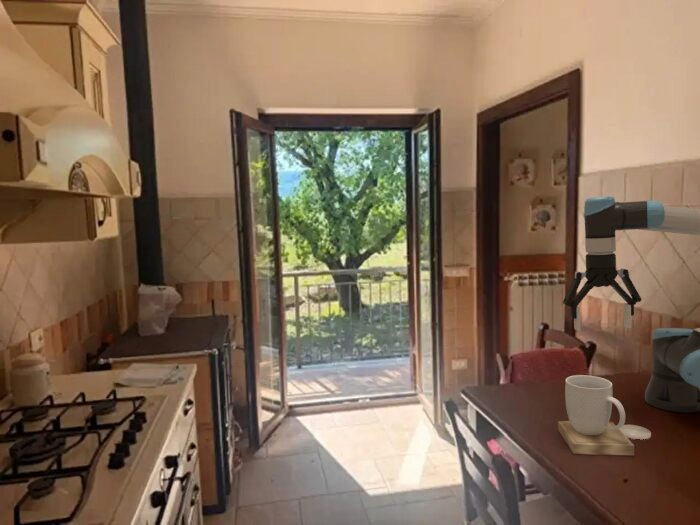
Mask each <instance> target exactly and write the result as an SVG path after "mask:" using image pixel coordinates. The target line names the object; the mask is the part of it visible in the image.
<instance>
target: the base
mask: <svg viewBox="0 0 700 525" xmlns="http://www.w3.org/2000/svg"><path fill="white" fill-rule="evenodd" d="M608 426H617V425H616V424H615V423H614V422H613V421H609V423H608ZM557 429H558V430H557V431H558V432H559V433H560V435H561V437H562V438H563V440H564V441H565V443H566V445H567V446H568V448H569V450H570V451H571V453H572V454H573V455H597V456H598V455H599V456H604V455H605V456H607V455H608V456H635V445H634V443H633V442H632V441H631V439H630V438H627V437H626V436H625V435H624V434H623V433H622V432H621V431H620V430H619V429H618V430H604V432H603V433H602V434H600V435H595V436H591V435H584V434H581V433H579V432H577V431H576V430H575V429H574V428H573V426H572V425H571V423H570V420H568V421H567V420H566V421H565V420H564V421H563V420H559V421H558V422H557Z"/></svg>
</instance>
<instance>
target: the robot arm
mask: <svg viewBox="0 0 700 525" xmlns="http://www.w3.org/2000/svg"><path fill="white" fill-rule="evenodd" d="M583 212H584V213H583V216H584V217H583V218H584V234H585V236H584V238H585V239H584V240H585V242H584V243H585V253H587V254H585V272H581V271H574V272H573V279H572V282H571V284H570V286H569V288H568V290H567V292H566V294H565V297H564V299H562V300H563V301H562V304H563V305H565V306H567V307H569V309H570V310H569V314H570V315H569V316H570V318H571V319H573V328H574V330H575V331H577V332H581V307H579V304H580V303H581V302H582V301H583V299H585V297H586V296H587V295H588V293H589V292H590V291H591V290H593V288H594V287H596V288H602V287H605V288H606V287H607V288H608V287H609V286H610V287H611V288H612V289H613V290H614V291H615V292H616V293H617V294H618V295H619V296H620V298H622V299H623V300H624V303H623V326H624V328H627V329H632V317H633V316H635V305H636V304H637V303H638V302H639V303H640V302H641V301H642V297H641V295H640V293H639V292H638V290H637V288H636V286H635V285H634V283H633V281H632V280H631V277H630V272H629V270H628V269H627V268H621V269H617V254H615V253H614V252H616V250H617V249H616V247H617V246H616V231H628V230H629V231H630V230H641V231H651V232H660V233H661V232H662V233H668V234H669V233H671V234H682V235H689V236H691V235H693V236H700V209H699V208H691V207H690V208H688V207H677V206H676V207H675V206H667V205H666V206H665V205H664V204H663V203H662V202H661V201H659V200H642V201H641V200H640V201H638V200H637V201H626V202H624V201H623V202H621V201H616V200H615V197H614V196H613V195H611V196H610V195H609V196H596V197H588V198H586V199H585V201H584V210H583ZM617 277H619V278H621V280H622V283H623V284H624V286H625V288H626V289H627V291H628V292H626V290H624V289H623V287H622V286H621V285H620V284H619V283H618V282H617V281H616V278H617ZM584 278H586V281H585V282H584V284H583V286H582V288H580V290H579V291H578V292H577V290H578V289H579V287H580V284H581V282H582V281H583V280H584ZM576 293H577V294H576ZM628 293H629V294H630V295H629V294H628ZM625 302H626V303H625ZM651 345H652V347H651V350H652V351H651V377H650V380H649V381H648V385H647V387H646V389H645V392H644V401H645V402H646V403H647V404H648V405H650V406H652V407H654V408H658V409H660V410H663V411H669V412H676V413H687V414H689V413H698V412H700V327H697V328H694V329H691V328H683V327H680V328H679V327H678V328H677V327H660V328H656V329H654V330H653V331H652V338H651Z"/></svg>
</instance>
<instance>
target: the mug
mask: <svg viewBox="0 0 700 525" xmlns="http://www.w3.org/2000/svg"><path fill="white" fill-rule="evenodd" d="M564 389H565V392H564V396H565V398H564V399H565V408H566V409H565V410H566V413H567V418H568V421H570V423H571V425H572V426H573V428H574V429H575V430H576V431H577V432H579V433H581V434H584V435H591V436H595V435H600V434H602V433H603V432H604V430H618V429H620V428H621V427H622V426H623V425H625V423H626V412H625V408H624V406H623V404H622V403H621V401H620V400H618V399H617V398H615V397H613V394H614V393H613V383H612V382H611V381H610V380H608V379H606V378H603V377H600V376H595V375H586V374H585V375H583V374H575V375H571V376H568V377H566V378H565V387H564ZM613 404H614V405H615V407H616V408H617V410H618V414H619V421H618V423H617V425H616V426H608V423H609V422H610V420H611V415H612V410H613Z"/></svg>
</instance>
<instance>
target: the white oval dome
mask: <svg viewBox="0 0 700 525" xmlns="http://www.w3.org/2000/svg"><path fill="white" fill-rule="evenodd" d="M619 430H620V431H621V432H622V433H623V434H624V435H625V436H626V437H627V438H628V439H630V438H631V439H630V440H635V439H640V441H646V440H650V438H651V437H652V432H651V430H649V429H648V428H646V427H643V426H639V425H636V424H635V425H634V424H624V425H623V426H622V427H621V428H620V429H619ZM643 439H644V440H643ZM645 439H646V440H645Z"/></svg>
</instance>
